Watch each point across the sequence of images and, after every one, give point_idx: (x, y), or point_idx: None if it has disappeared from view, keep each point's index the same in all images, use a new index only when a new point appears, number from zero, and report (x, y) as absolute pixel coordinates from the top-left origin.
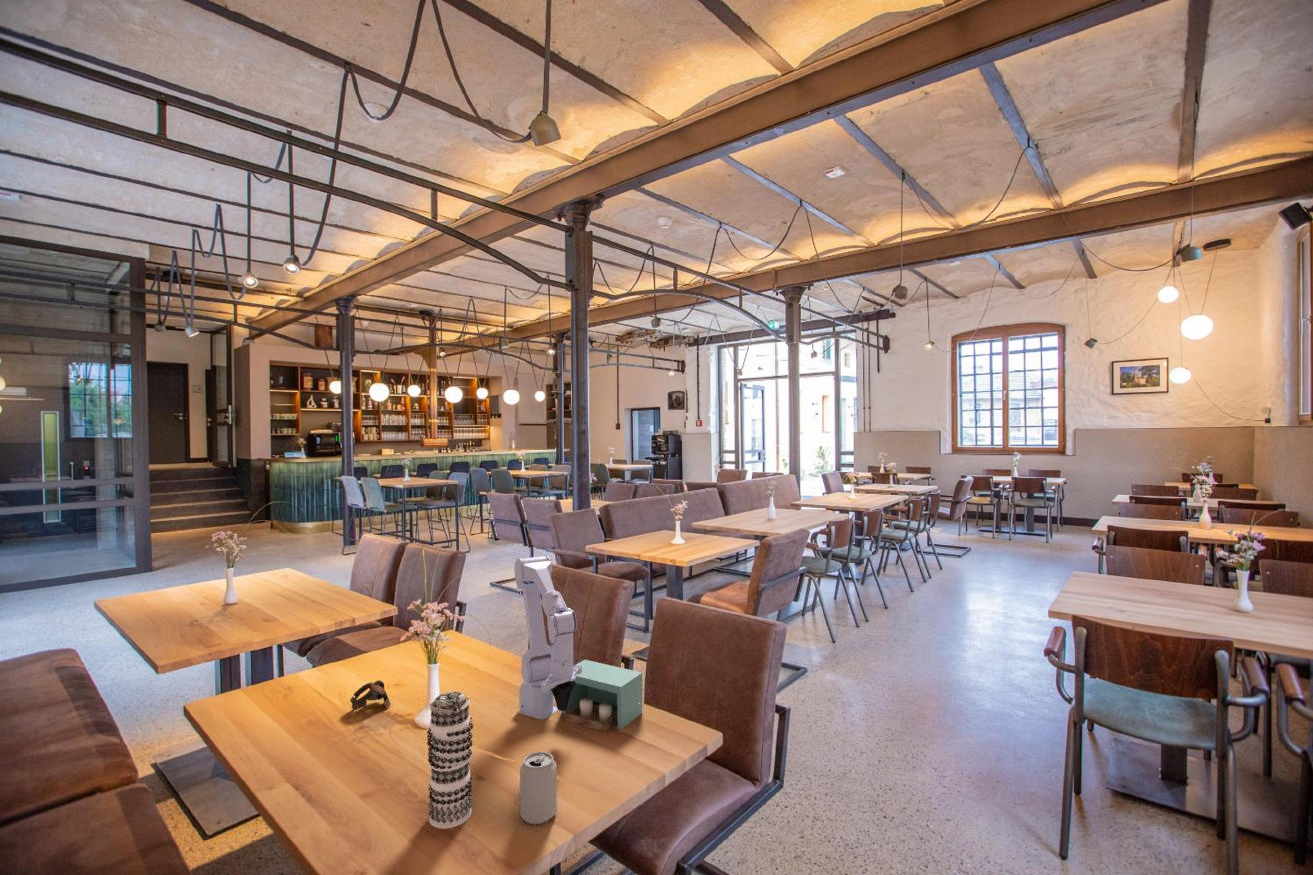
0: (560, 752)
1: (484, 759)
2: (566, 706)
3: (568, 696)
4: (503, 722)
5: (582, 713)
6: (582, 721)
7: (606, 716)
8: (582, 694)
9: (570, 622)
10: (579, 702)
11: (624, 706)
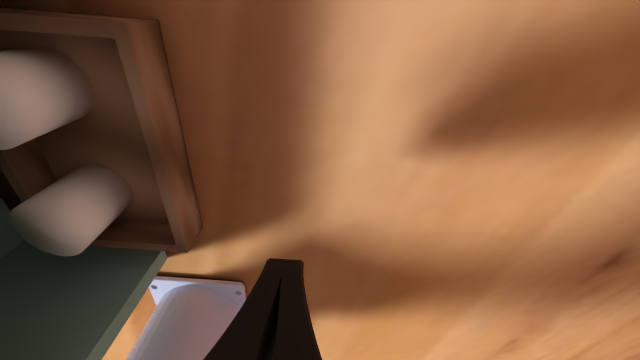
0: (406, 124)
1: (505, 295)
2: (276, 275)
3: (246, 346)
4: None
5: (120, 200)
6: (172, 165)
7: (41, 67)
8: (23, 269)
9: None
10: None
11: None
